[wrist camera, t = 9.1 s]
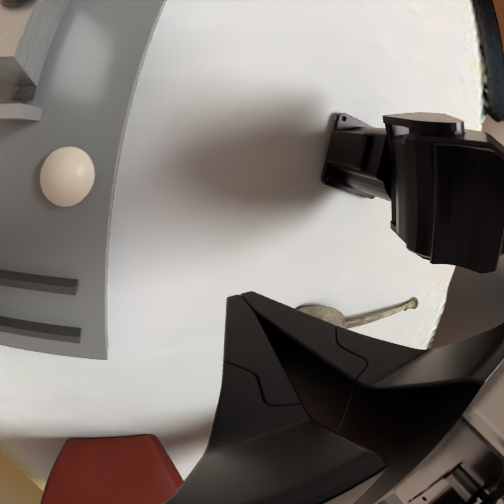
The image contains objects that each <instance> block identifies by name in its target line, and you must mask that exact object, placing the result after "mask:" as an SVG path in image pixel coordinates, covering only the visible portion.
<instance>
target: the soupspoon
mask: <svg viewBox="0 0 504 504" xmlns="http://www.w3.org/2000/svg"><path fill="white" fill-rule="evenodd" d="M417 307H418V299H417V298H415V297H413V298H412V300H410V301H409V302H408V303H406V304H404V305H403V306H401V307H398V308H395V309H392V310H388V311H385V312H382V313H379V314H376V315H373V316H369V317H365V318H360V319H356V320H350V321H345V318H344V316H343V314H342V313H341V312H340V311H338V310H336V309H334V308H332V307H327V306H308V307H301V308H298V309H297V310H299V311H302V312H304V313H307V314H309V315H312V316H314V317H317V318H319V319H322V320H324V321H327V322H329V323H332V324H335V325H336V326H340V327H343V328H345V329H348V328H352V327H357V326H360V325H364V324H367V323H370V322H373V321H376V320H379V319H381V318H384V317H387V316H389V315H392V314H395V313H397V312H400V311H402V310H404V311H406V310H407V309H410V308H412V309H416V308H417Z"/></svg>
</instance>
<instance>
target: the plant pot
mask: <svg viewBox="0 0 504 504" xmlns="http://www.w3.org/2000/svg"><path fill="white" fill-rule="evenodd" d="M183 482H184V481H183V479H182V477H181V476H180V474H179V472H178V471H177V469H176V467H175V465H174V464H173V462H172V460H171V459H170V457H169V455H168V454H167V452H166V450H165V449H164V447H163V445H162V444H161V442H160V441H159V439H158V438H157V437H156V436H154V435H140V436H130V437H117V438H100V439H69V440H67V441H66V443H65V444H64V446H63V448H62V449H61V451H60V453H59V455H58V457H57V459H56V461H55V463H54V465H53V467H52V470H51V472H50V475H49V477H48V480H47V483H46V485H45V489H44V492H43V496H42V500H41V504H162V503H164V502H165V501H167V500H168V499H170V498H171V497H172V496H173V495H174V494H175V493H176V491H177V490H178V489H179V487H180V486H181V485H182V483H183Z"/></svg>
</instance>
